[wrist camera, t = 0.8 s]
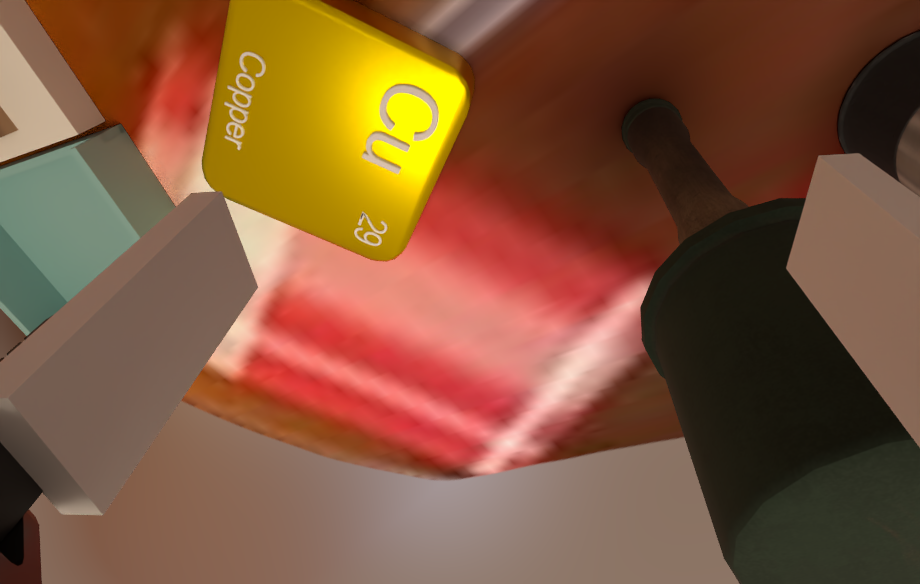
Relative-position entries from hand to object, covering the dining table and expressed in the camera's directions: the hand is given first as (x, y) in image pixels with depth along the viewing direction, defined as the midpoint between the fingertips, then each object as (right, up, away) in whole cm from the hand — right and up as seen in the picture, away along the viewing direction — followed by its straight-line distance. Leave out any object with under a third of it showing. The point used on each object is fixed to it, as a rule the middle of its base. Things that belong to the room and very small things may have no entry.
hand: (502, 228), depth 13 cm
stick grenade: (+12, +10, +24) cm, 28 cm away
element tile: (-9, +11, +26) cm, 30 cm away
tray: (-31, +4, +33) cm, 45 cm away
